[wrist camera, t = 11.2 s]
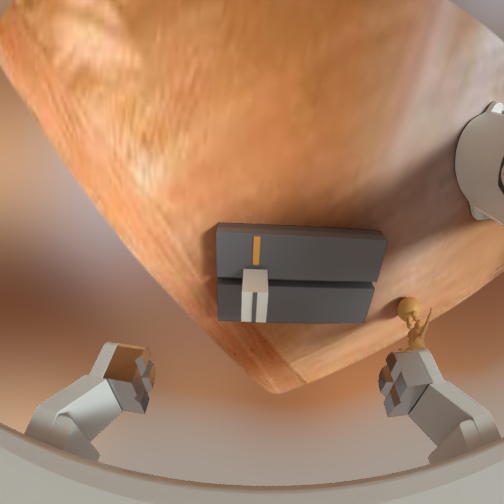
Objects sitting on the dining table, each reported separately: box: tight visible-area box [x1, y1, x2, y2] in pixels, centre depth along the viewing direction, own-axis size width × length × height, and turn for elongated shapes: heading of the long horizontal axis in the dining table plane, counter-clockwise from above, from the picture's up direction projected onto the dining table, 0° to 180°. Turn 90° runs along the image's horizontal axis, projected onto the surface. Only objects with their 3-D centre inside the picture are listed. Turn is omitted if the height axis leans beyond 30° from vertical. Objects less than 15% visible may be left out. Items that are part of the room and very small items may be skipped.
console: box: [216, 223, 388, 323], centre depth 42 cm, size 22×14×3 cm, turn 88°
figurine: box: [397, 297, 432, 351], centre depth 41 cm, size 8×6×12 cm
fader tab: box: [241, 269, 268, 323], centre depth 39 cm, size 3×4×7 cm, turn 178°
